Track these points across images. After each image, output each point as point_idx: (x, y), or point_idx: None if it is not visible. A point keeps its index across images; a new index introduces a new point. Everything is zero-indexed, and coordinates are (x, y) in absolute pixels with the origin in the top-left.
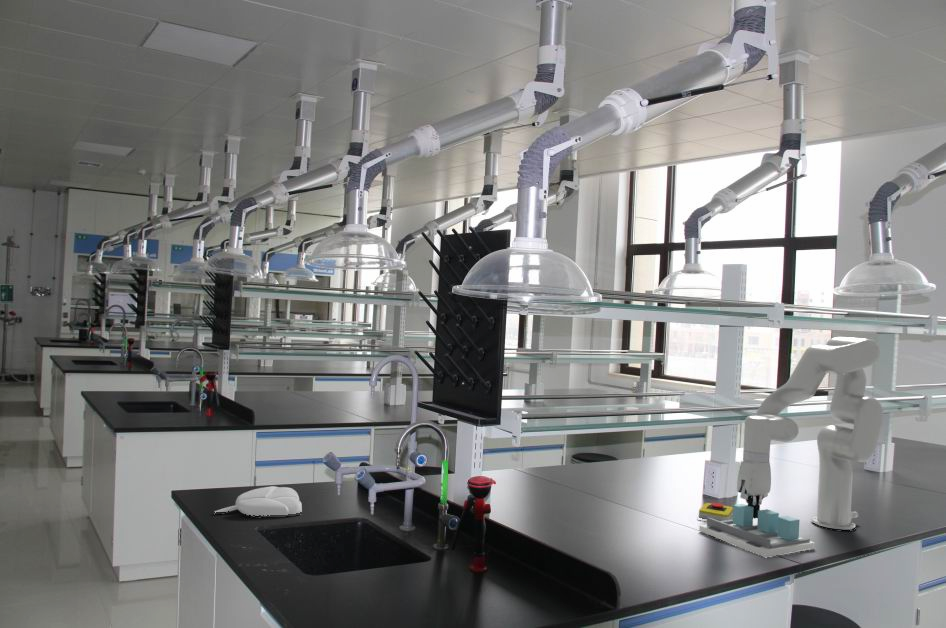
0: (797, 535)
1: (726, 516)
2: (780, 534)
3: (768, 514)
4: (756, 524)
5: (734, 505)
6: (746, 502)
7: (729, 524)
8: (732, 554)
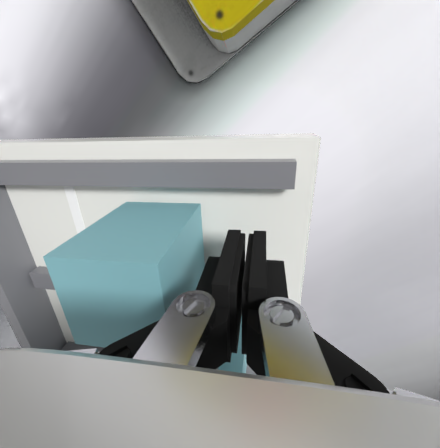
0: None
1: (213, 36)
2: None
3: None
4: (269, 246)
5: (47, 264)
6: (179, 295)
7: (115, 189)
8: (8, 337)
